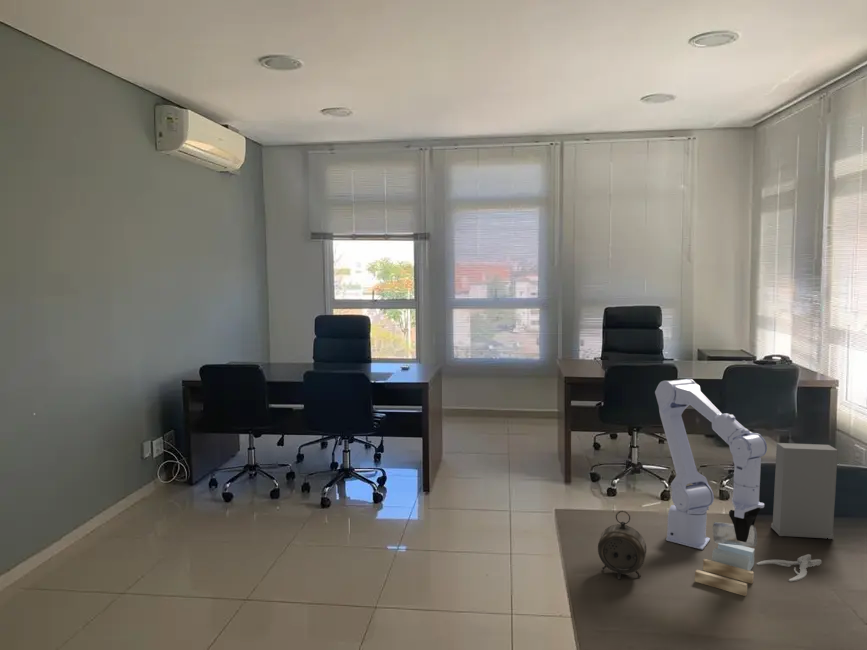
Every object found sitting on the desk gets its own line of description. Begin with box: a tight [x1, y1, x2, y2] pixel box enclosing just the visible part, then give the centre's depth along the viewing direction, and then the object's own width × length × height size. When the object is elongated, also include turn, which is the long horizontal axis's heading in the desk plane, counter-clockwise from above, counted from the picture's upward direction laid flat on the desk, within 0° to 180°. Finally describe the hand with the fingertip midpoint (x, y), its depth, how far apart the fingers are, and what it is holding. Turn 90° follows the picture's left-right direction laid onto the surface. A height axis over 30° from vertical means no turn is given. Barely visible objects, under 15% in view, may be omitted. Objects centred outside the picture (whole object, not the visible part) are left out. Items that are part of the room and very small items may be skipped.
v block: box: [711, 543, 756, 571], centre depth 157 cm, size 8×8×4 cm
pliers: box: [755, 553, 822, 583], centre depth 156 cm, size 10×2×15 cm
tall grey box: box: [770, 442, 839, 540], centre depth 175 cm, size 14×6×25 cm, turn 82°
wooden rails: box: [694, 558, 755, 597], centre depth 149 cm, size 11×8×2 cm
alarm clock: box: [597, 510, 647, 580], centre depth 151 cm, size 11×5×16 cm, turn 65°
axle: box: [712, 521, 758, 548], centre depth 156 cm, size 9×5×5 cm, turn 52°
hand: (744, 537), depth 155 cm, fingers closed on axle, 5 cm apart
